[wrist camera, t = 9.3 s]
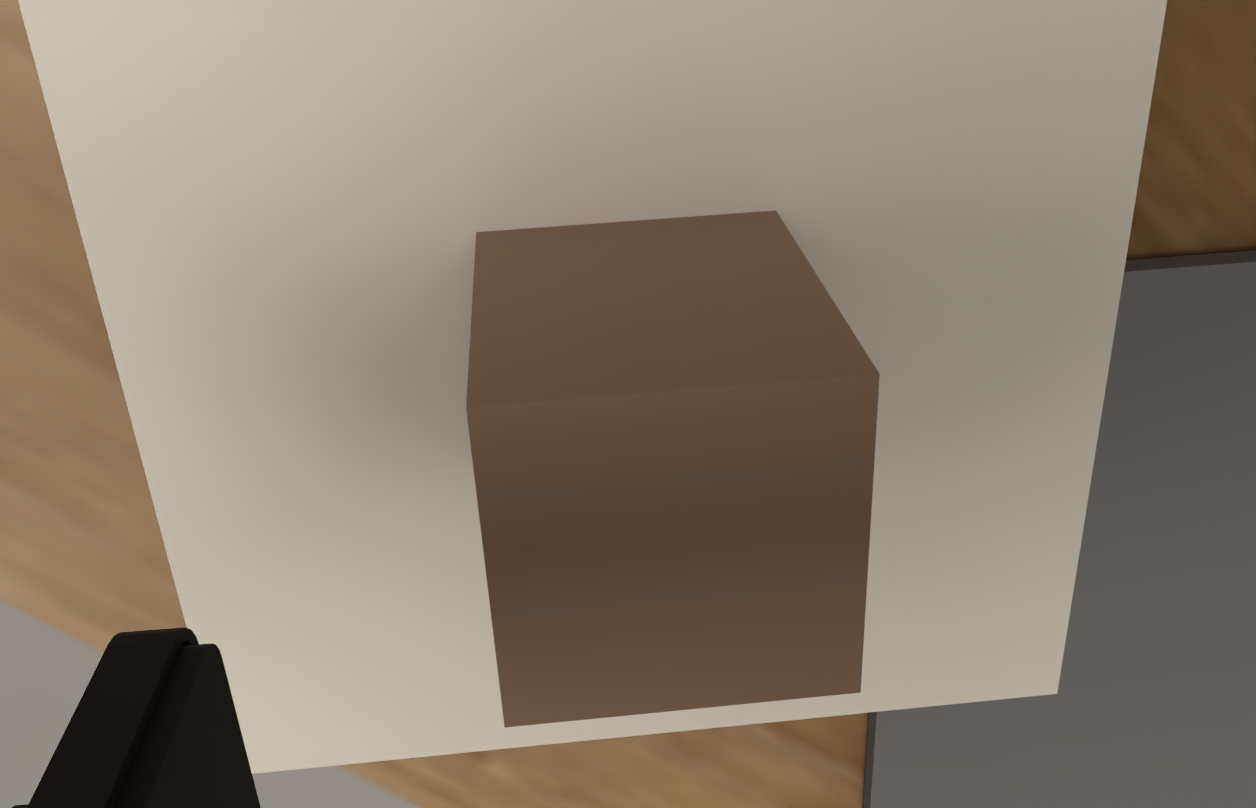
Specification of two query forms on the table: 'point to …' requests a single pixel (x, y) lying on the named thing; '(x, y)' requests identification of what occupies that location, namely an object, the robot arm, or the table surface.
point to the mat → (1133, 588)
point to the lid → (607, 346)
